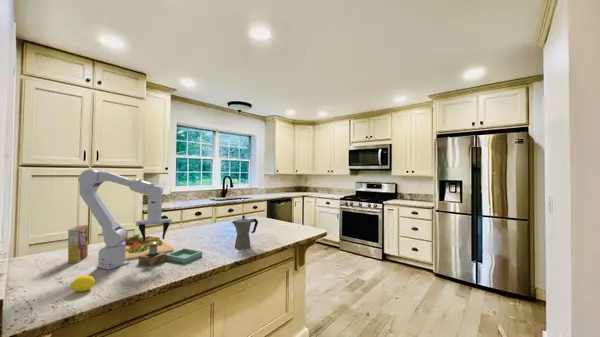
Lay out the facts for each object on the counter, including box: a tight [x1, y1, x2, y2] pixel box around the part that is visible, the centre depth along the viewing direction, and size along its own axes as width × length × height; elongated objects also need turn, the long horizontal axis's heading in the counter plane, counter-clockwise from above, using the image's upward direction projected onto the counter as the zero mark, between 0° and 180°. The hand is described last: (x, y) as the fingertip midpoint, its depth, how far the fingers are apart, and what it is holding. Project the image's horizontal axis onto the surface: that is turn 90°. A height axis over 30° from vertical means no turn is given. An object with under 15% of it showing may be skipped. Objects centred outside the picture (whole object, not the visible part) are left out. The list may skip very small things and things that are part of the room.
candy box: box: [67, 224, 89, 264], centre depth 120 cm, size 9×4×15 cm, turn 17°
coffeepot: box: [231, 214, 259, 250], centre depth 148 cm, size 15×9×18 cm, turn 118°
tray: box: [166, 247, 203, 265], centre depth 127 cm, size 12×12×2 cm
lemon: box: [69, 274, 96, 293], centre depth 91 cm, size 7×5×5 cm
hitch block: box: [138, 252, 168, 267], centre depth 120 cm, size 8×8×4 cm
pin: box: [147, 241, 159, 257], centre depth 120 cm, size 5×5×9 cm
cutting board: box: [125, 234, 175, 261], centre depth 141 cm, size 35×23×8 cm
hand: (154, 239), depth 120 cm, fingers open, 7 cm apart
